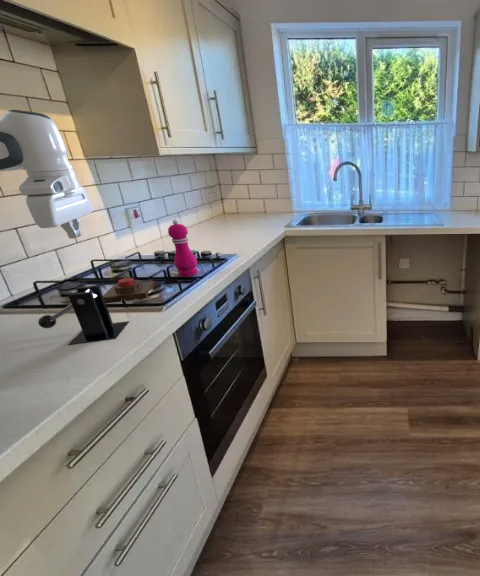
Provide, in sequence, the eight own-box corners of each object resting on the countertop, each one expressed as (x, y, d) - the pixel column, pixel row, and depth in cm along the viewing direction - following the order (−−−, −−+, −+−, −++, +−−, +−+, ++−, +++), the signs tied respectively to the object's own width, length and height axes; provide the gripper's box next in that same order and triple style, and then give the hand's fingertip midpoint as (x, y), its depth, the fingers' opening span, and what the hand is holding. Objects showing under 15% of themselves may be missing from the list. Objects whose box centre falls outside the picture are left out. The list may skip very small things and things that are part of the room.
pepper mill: (191, 278, 128) (177, 222, 120) (173, 277, 129) (157, 222, 121) (203, 271, 134) (191, 217, 126) (186, 270, 135) (172, 217, 127)
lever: (43, 333, 86) (31, 323, 85) (51, 326, 89) (39, 317, 87) (94, 301, 86) (82, 291, 85) (100, 295, 89) (88, 286, 88)
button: (117, 288, 111) (115, 283, 110) (122, 283, 115) (120, 278, 114) (132, 286, 112) (130, 281, 111) (136, 281, 116) (135, 276, 115)
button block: (102, 304, 109) (98, 292, 107) (115, 291, 118) (111, 280, 116) (146, 299, 112) (143, 287, 110) (156, 287, 121) (153, 276, 119)
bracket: (69, 348, 86) (48, 300, 81) (87, 330, 94) (69, 285, 89) (117, 342, 88) (99, 294, 83) (130, 325, 96) (115, 280, 91)
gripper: (63, 179, 98) (81, 229, 103) (13, 189, 80) (38, 249, 85) (89, 177, 99) (106, 227, 105) (46, 187, 81) (69, 246, 87)
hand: (75, 237), depth 95 cm, fingers closed
